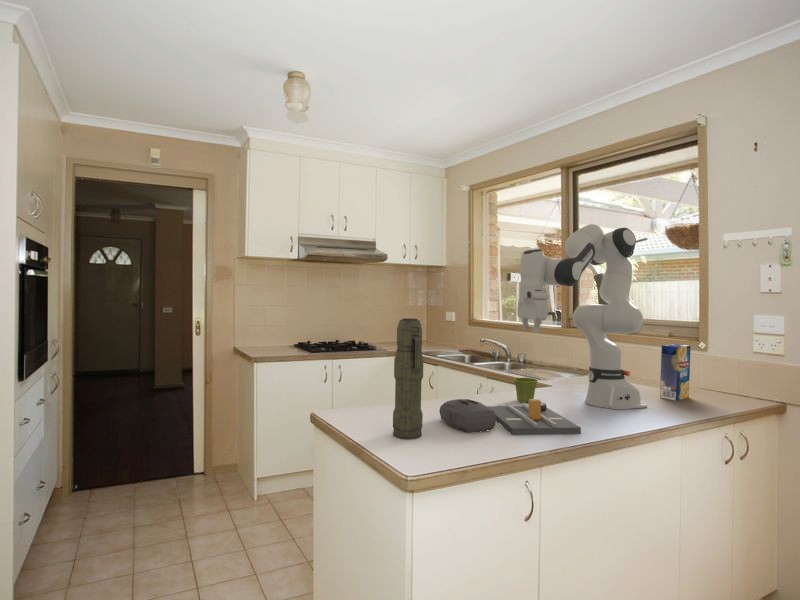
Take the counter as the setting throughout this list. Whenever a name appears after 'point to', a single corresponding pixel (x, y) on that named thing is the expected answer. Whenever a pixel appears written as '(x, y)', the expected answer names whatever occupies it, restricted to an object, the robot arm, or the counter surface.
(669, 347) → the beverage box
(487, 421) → the small grey backpack
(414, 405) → the thermos
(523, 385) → the plant pot
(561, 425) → the console board
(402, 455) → the counter surface
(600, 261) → the robot arm
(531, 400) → the fader knob
